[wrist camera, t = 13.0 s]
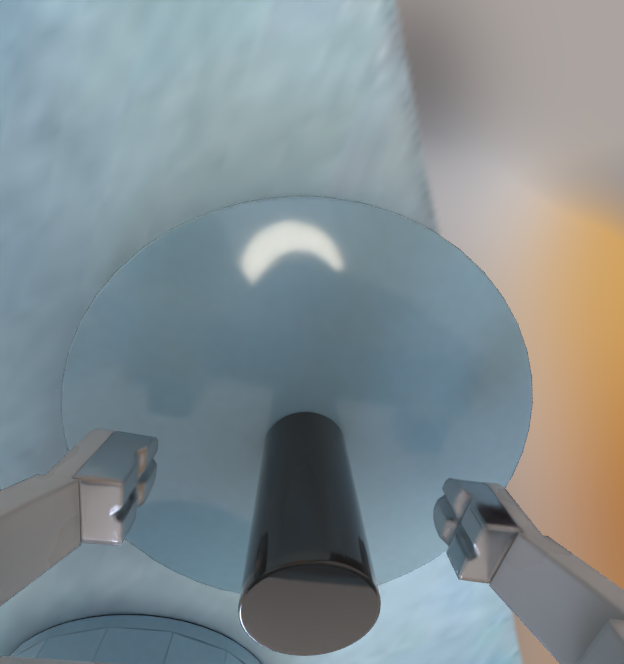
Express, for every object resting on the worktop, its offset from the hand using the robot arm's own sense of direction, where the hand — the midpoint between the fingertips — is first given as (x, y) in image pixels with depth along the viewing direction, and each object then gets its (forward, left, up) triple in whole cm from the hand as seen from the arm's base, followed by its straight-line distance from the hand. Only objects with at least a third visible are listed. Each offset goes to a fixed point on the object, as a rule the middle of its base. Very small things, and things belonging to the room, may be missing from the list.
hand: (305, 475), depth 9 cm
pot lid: (0, 0, -2) cm, 2 cm away
